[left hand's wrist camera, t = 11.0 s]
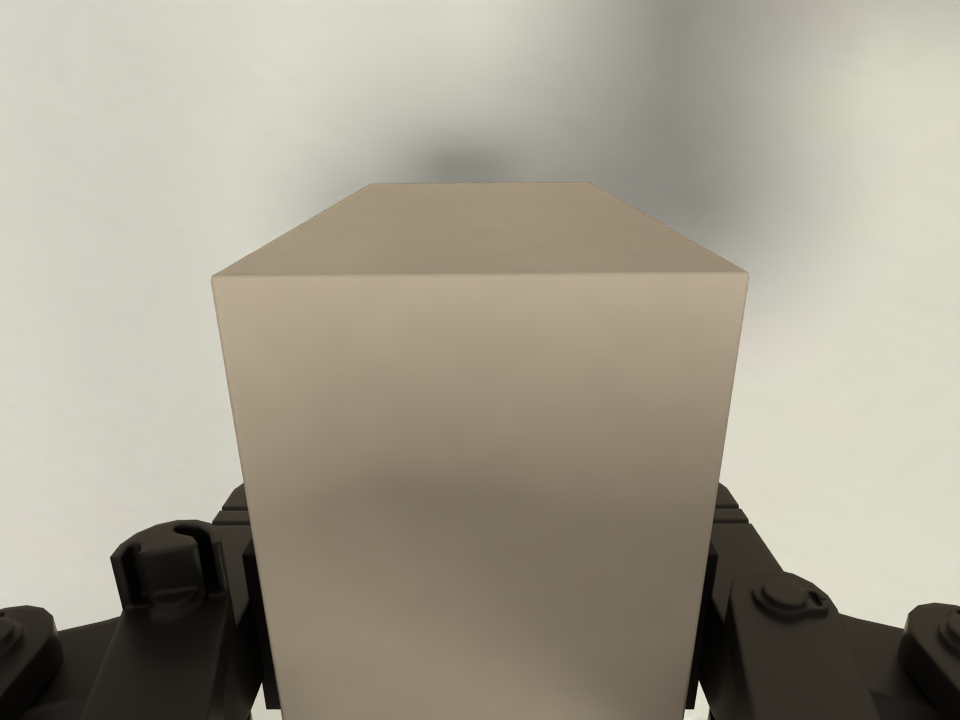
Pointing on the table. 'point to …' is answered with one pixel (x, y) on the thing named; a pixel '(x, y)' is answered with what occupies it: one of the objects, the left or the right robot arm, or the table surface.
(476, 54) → the table surface
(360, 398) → the post
